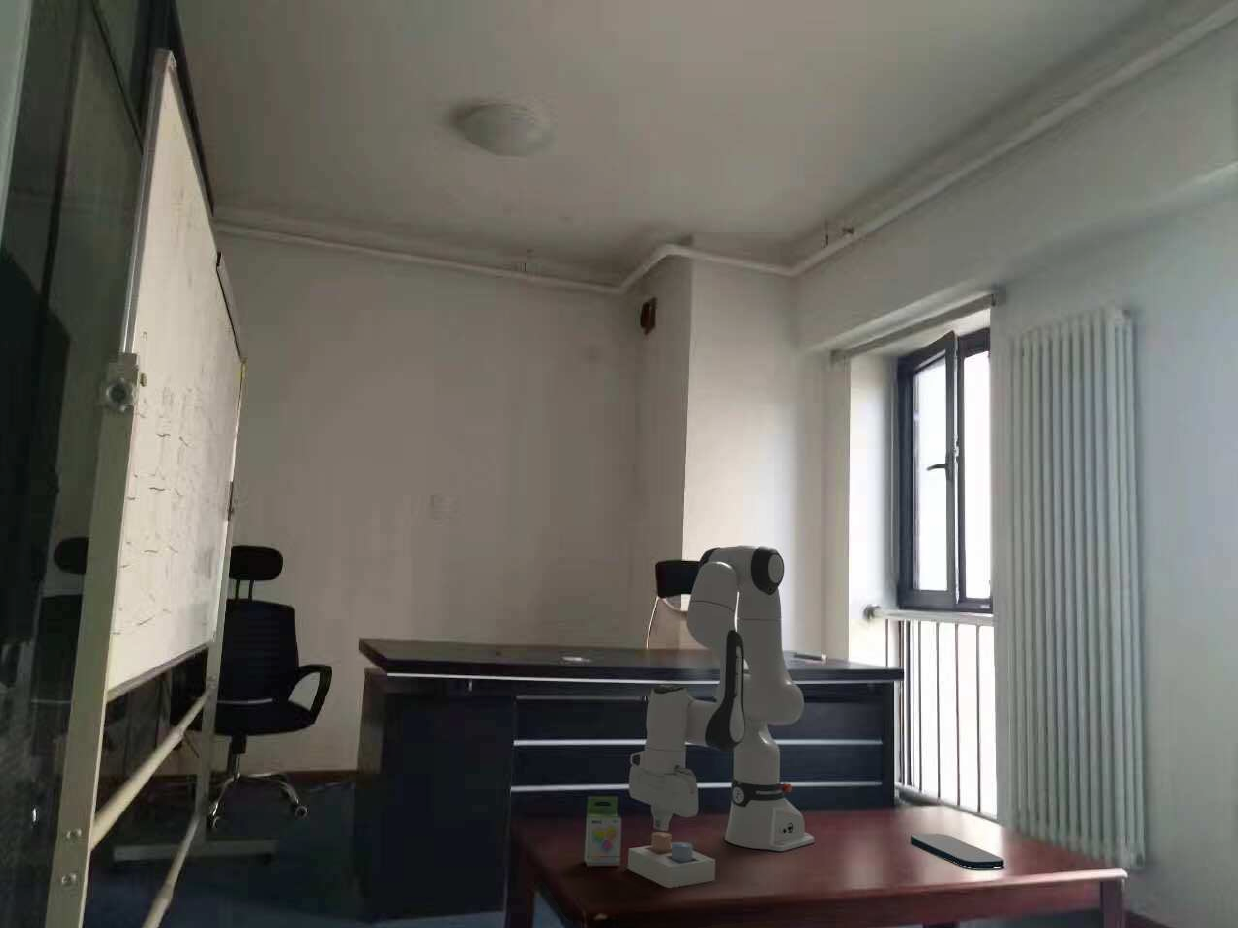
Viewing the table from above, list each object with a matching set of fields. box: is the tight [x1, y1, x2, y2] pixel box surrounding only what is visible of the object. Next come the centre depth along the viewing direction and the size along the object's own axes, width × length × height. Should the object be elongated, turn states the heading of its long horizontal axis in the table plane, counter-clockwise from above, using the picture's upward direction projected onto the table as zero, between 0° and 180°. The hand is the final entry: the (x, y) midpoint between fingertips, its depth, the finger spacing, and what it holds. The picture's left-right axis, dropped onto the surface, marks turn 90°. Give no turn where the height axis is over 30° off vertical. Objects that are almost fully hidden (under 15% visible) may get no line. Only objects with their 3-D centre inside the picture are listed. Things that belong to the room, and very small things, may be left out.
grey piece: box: [672, 841, 694, 864], centre depth 181 cm, size 4×4×4 cm
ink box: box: [583, 796, 622, 867], centre depth 189 cm, size 7×4×13 cm, turn 103°
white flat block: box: [627, 842, 716, 889], centre depth 184 cm, size 12×14×4 cm
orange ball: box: [650, 831, 673, 854], centre depth 187 cm, size 4×4×4 cm
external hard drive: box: [910, 833, 1005, 868], centre depth 212 cm, size 24×12×2 cm, turn 16°
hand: (660, 829), depth 187 cm, fingers closed
